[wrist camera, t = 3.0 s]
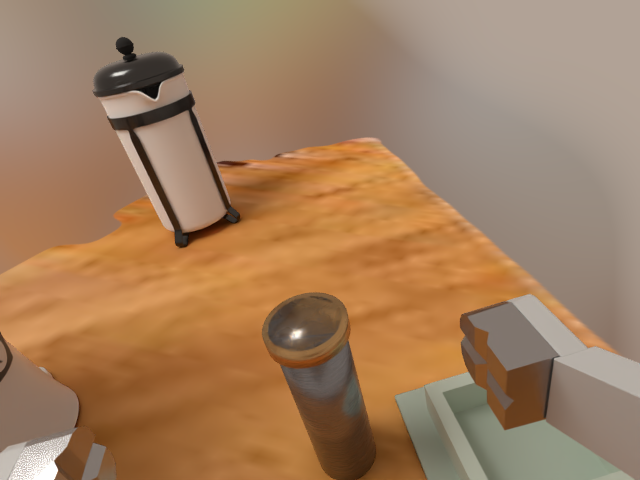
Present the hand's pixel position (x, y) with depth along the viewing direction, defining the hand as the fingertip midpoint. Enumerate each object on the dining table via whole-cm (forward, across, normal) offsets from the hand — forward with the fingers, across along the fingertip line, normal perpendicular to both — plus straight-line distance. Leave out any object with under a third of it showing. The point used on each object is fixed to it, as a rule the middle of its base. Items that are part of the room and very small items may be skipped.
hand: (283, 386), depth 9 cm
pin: (+12, 0, -24) cm, 26 cm away
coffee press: (+60, -16, -24) cm, 67 cm away
